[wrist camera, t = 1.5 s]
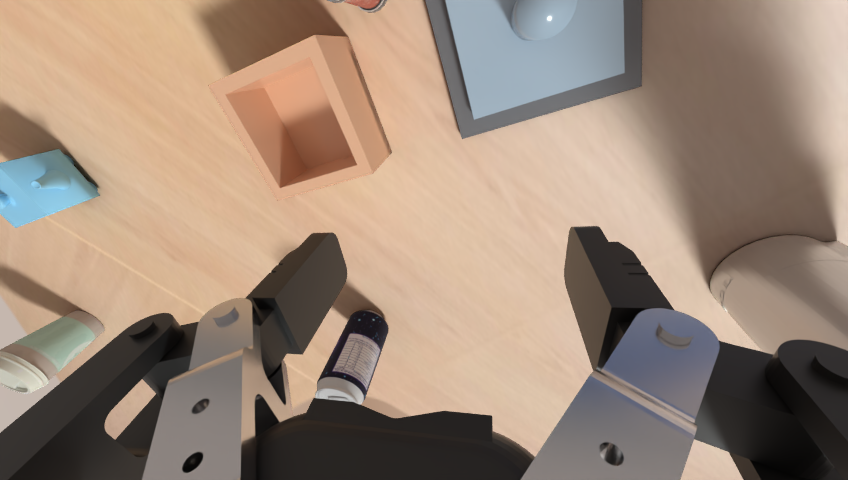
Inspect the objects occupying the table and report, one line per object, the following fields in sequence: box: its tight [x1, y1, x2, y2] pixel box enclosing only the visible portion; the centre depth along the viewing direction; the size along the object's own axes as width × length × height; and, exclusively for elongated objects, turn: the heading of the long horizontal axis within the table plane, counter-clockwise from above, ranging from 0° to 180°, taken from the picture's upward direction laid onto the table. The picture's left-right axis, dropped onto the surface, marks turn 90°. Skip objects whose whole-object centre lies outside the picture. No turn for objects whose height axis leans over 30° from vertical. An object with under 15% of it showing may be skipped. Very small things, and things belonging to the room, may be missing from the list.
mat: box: [425, 0, 642, 139], centre depth 23 cm, size 14×14×1 cm
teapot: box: [0, 149, 100, 228], centre depth 36 cm, size 12×6×8 cm, turn 109°
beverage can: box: [315, 310, 388, 405], centre depth 39 cm, size 6×6×12 cm
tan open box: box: [208, 35, 392, 201], centre depth 27 cm, size 10×10×6 cm
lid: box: [445, 0, 625, 119], centre depth 19 cm, size 11×11×7 cm
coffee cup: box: [0, 310, 104, 394], centre depth 52 cm, size 9×9×12 cm
